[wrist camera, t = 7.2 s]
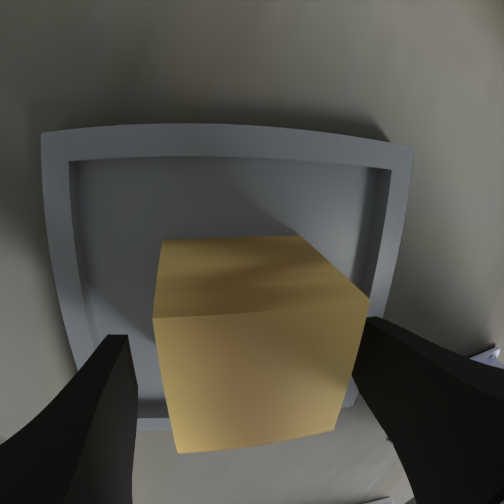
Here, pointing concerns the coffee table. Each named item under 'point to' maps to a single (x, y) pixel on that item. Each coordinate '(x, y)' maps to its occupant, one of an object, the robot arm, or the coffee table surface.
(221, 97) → the coffee table surface
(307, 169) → the tray
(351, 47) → the coffee table surface
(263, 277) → the cube
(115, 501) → the robot arm
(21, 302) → the coffee table surface
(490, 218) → the coffee table surface
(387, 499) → the syrup box
